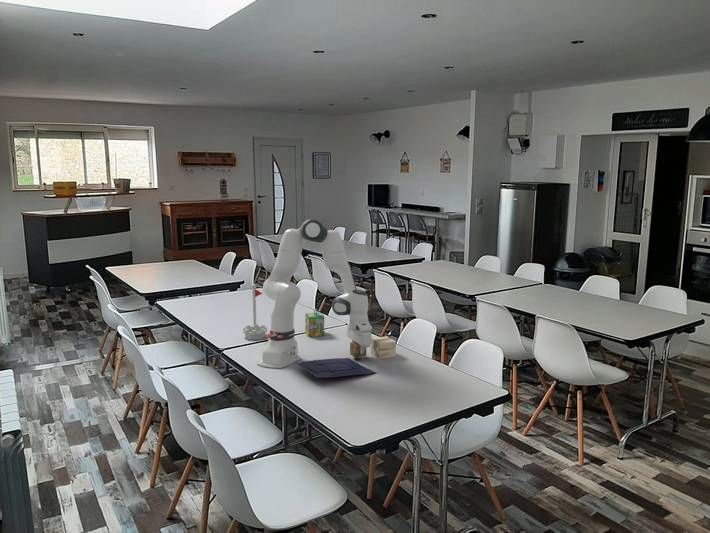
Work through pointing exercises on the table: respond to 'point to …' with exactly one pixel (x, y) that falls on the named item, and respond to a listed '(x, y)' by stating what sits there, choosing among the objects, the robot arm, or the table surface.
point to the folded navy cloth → (334, 367)
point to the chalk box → (314, 324)
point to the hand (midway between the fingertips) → (358, 351)
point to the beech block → (383, 347)
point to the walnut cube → (356, 350)
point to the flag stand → (255, 330)
